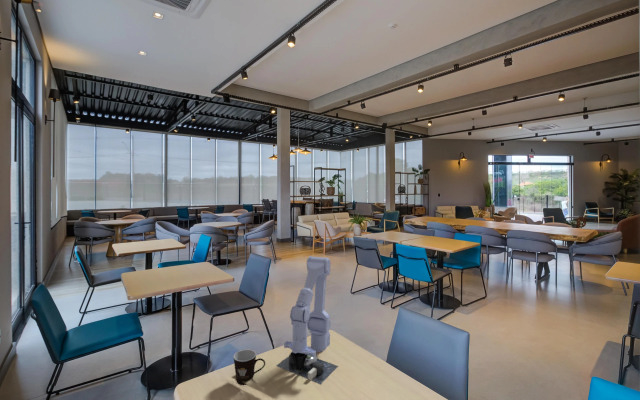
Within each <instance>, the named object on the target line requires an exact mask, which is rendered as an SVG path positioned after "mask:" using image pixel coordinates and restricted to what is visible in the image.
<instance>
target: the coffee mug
mask: <svg viewBox="0 0 640 400" xmlns="http://www.w3.org/2000/svg"><path fill="white" fill-rule="evenodd" d="M258 361H262V362H263V365H262V366H261V367H260V368H258V369H257V370H255V367H256V363H257V362H258ZM233 365H234V371H235V378H236V379H235V380H236V384H237V385H240V386H247V385H248V384H247V383H246V382H249V381H251V380H252V379H253V378H254V375H255V374H257V373H259V372H260V371H261V370H262V369H264V367H265V366H266V361H265V359H263V358H261V357H259V358H257V352H256V351H255V350H253V349H248V348H247V349H241V350H238V351H237V352H235V353H234V354H233Z"/></svg>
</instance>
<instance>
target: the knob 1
mask: <svg viewBox="0 0 640 400" xmlns="http://www.w3.org/2000/svg"><path fill="white" fill-rule="evenodd" d="M289 364H290V365H293V366H295V363H294V361H293V358H292V357H291V355H290V354H289Z"/></svg>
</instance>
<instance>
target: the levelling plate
mask: <svg viewBox="0 0 640 400" xmlns="http://www.w3.org/2000/svg"><path fill="white" fill-rule="evenodd" d="M314 362H322V363H323V374H321V375H316V376H315V377H314V378H313V379H312V380H310V381H311V382H313V383H316V384H319V385H321V384H323V383H324V382H325V381H326V380H327V378H329V376H330V375H331V374H332V373H334V371H336V369H337V368H339V366H338V365H337V364H333V363H331V362H328V361H326V360H323V359H320V358H318V355H317V354H316V356H315V357H314V358H312V357H311V356H309V355H308V356H307V358H306V360H305V362H304V366H303V369H302V370H301V371H299V370H296V367H295V366H293V365H290V364H289V356H287V357H286V358H285V359H283V360H281V361H280V362H279V363H278V364H276V365H275V366H276V367H278V368H280V369H283V370H286V371H287V372H289V373H292V374H295V375H297V376H300V377H302V378H305V379H306V380H309V379H308V372H309V371H310V370H311V369H312V368H313V363H314Z"/></svg>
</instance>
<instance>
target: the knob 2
mask: <svg viewBox="0 0 640 400" xmlns="http://www.w3.org/2000/svg"><path fill="white" fill-rule="evenodd" d="M321 374H323V363H322V362H314V363H313V368H312V369H311V370H310V371H309V372H308V379H307V380H309V381H311V380H312V379H313V378H314V377H315V376H316V375H321Z"/></svg>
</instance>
